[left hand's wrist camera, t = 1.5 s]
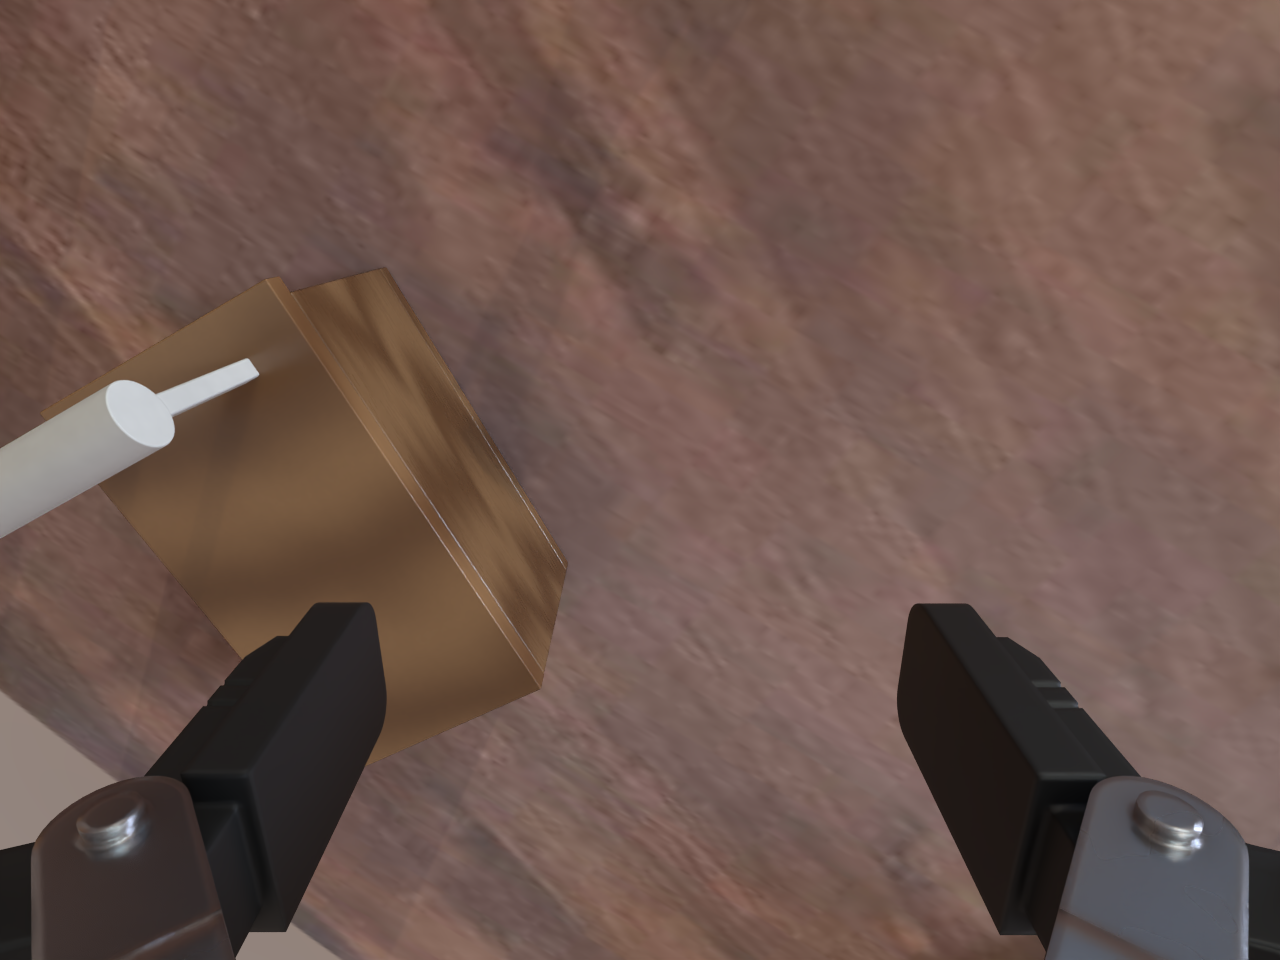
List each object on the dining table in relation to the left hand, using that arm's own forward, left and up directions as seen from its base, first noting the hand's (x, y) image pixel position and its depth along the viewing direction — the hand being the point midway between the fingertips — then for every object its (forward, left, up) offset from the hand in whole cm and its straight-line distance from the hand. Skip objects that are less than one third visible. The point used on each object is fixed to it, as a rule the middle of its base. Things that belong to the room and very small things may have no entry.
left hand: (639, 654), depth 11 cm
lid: (-6, -13, -17) cm, 22 cm away
